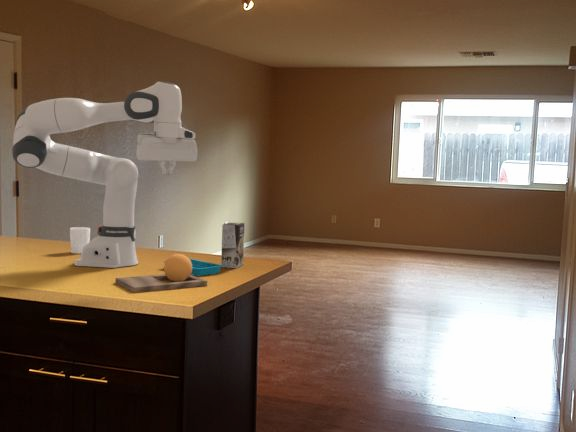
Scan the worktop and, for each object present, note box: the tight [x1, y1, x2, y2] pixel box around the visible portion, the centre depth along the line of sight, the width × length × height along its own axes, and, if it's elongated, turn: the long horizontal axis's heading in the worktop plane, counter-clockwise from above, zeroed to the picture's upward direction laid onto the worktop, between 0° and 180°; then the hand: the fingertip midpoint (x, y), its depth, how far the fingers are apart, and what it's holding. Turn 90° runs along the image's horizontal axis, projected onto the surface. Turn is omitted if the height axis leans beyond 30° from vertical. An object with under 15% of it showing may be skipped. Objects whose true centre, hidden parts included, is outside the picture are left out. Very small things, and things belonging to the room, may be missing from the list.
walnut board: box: [114, 273, 208, 293], centre depth 199 cm, size 24×16×2 cm, turn 124°
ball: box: [163, 253, 192, 282], centre depth 204 cm, size 9×9×9 cm
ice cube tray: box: [163, 258, 223, 277], centre depth 225 cm, size 12×20×3 cm, turn 48°
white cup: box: [69, 226, 91, 255], centre depth 256 cm, size 8×8×10 cm
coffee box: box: [220, 222, 245, 269], centre depth 236 cm, size 9×6×16 cm
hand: (167, 175), depth 207 cm, fingers closed
